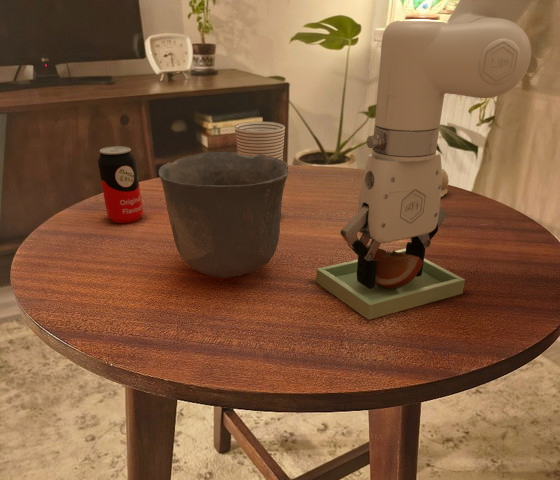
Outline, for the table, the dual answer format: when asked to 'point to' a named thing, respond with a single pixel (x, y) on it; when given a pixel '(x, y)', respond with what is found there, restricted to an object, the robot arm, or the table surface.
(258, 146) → the cup
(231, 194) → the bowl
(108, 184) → the beverage can
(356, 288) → the serving tray
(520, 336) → the table surface
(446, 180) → the decorative ornament
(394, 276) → the fruit slice
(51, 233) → the table surface
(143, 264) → the table surface
